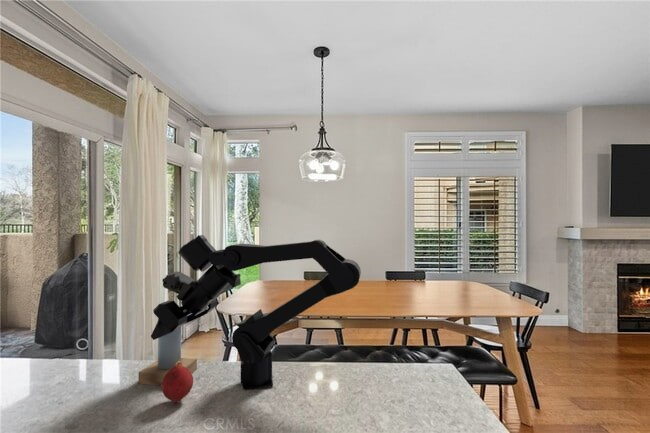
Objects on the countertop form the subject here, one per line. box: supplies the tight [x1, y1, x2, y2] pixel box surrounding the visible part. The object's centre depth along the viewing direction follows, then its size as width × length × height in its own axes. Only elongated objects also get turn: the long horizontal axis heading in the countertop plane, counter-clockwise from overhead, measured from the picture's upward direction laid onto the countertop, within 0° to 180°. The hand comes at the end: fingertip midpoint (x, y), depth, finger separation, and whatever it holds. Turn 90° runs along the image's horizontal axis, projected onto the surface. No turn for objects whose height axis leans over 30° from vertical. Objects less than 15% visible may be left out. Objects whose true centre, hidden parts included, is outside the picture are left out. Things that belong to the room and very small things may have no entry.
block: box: [138, 357, 198, 386], centre depth 81 cm, size 9×9×2 cm
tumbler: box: [157, 326, 182, 370], centre depth 82 cm, size 5×5×13 cm
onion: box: [161, 361, 194, 403], centre depth 70 cm, size 6×6×8 cm
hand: (164, 331), depth 82 cm, fingers open, 9 cm apart
